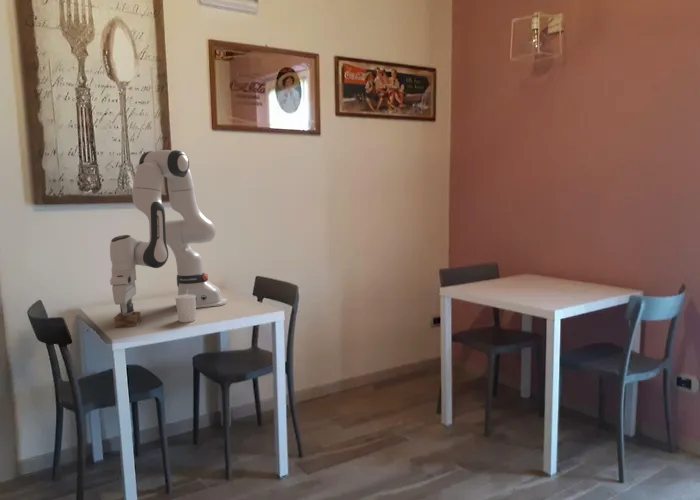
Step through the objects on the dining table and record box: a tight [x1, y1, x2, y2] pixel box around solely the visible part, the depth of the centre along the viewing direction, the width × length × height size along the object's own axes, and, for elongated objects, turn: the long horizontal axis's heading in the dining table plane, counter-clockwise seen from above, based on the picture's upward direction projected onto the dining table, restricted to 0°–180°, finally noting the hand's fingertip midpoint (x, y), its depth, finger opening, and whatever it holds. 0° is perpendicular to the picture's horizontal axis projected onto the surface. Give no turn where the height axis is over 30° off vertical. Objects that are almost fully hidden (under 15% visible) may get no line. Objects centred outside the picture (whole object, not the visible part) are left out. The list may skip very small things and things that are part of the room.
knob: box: [119, 302, 135, 316], centre depth 226 cm, size 5×5×6 cm
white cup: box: [175, 294, 197, 323], centre depth 229 cm, size 8×8×10 cm
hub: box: [113, 311, 142, 328], centre depth 227 cm, size 8×8×4 cm
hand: (127, 310), depth 226 cm, fingers closed on knob, 5 cm apart
